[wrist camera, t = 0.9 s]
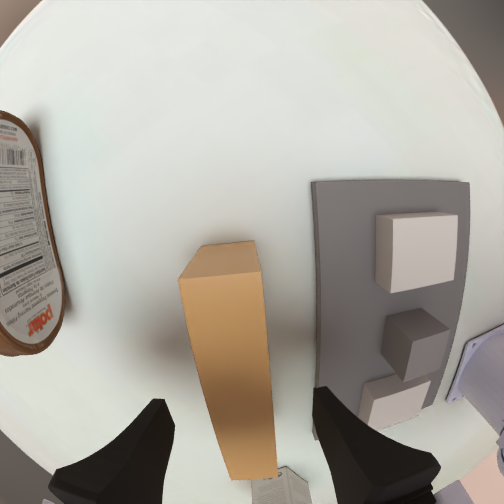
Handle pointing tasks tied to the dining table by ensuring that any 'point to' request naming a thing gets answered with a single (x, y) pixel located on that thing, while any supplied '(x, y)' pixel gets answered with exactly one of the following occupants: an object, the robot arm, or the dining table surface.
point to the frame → (232, 354)
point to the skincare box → (281, 489)
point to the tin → (26, 247)
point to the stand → (388, 291)
